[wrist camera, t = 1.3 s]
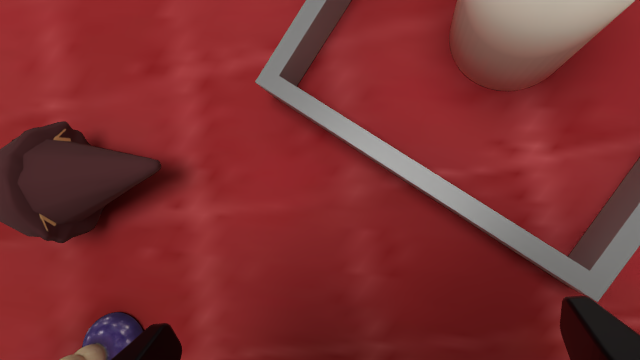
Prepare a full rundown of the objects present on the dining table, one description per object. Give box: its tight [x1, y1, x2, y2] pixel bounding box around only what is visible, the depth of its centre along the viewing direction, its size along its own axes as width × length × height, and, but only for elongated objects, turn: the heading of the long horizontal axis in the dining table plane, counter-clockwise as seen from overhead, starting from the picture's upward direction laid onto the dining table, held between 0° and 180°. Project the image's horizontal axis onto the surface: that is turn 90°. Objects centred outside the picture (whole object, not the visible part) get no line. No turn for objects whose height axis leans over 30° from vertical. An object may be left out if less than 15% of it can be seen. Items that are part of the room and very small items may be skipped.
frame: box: [255, 0, 640, 302], centre depth 21 cm, size 20×20×3 cm
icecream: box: [0, 122, 161, 243], centre depth 24 cm, size 7×7×15 cm
